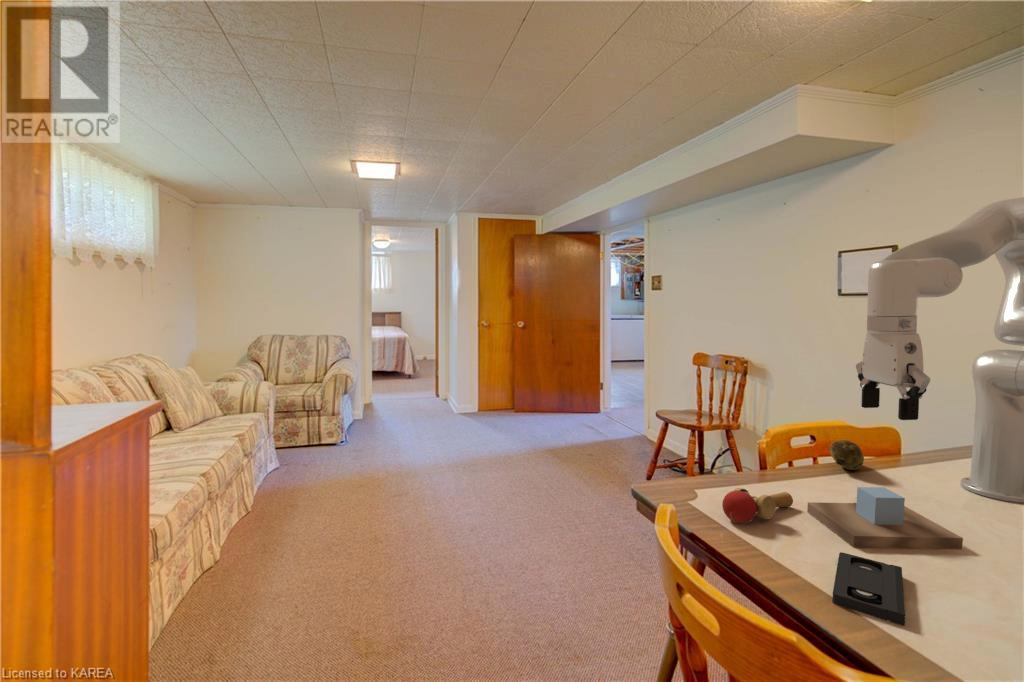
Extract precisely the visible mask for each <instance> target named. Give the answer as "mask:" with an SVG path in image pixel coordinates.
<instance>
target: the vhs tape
mask: <svg viewBox="0 0 1024 682" xmlns="http://www.w3.org/2000/svg"><path fill="white" fill-rule="evenodd" d="M837 558H838V559H837V560H838V561H837V565H836V566H837V567H836V570H835V576H834V577H835V578H834V583H833V589H832V601H831V602H832V604H834V605H836V606H839V607H842V608H845V609H849V610H852V611H855V612H858V613H861V614H864V615H867V616H870V617H873V618H877V619H881V620H884V621H886V622H887V621H889V622H890V623H893V624H895V625H898V626H903V627H905V625H906V608H905V607H906V606H905V605H906V604H905V593H904V580H903V568H902V566H899V565H896V564H895V565H894V564H889V563H888V564H887V563H885V562H881V561H877V560H873V559H871V558H870V559H869V558H865V557H861V556H857V555H853V554H850V553H847V552H841V551H840V552H839V554H838V557H837ZM848 587H851V593H850V594H851V596H850V595H849V594H848ZM879 596H881V600H878V598H879Z"/></svg>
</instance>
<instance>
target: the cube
mask: <svg viewBox="0 0 1024 682" xmlns="http://www.w3.org/2000/svg"><path fill="white" fill-rule="evenodd" d="M905 501H906V498H905V497H904V496H902V495H900V494H898V493H896V492H894V491H892V490H890V489H888V488H886V487H882V486H881V487H878V486H876V487H875V486H857V489H856V502H855V503H856V513H858V514H859V515H861V516H862V517H864V518H865V519H867V520H868V521H870V522H871V523H873V524H876V525H903V518H904V506H905Z"/></svg>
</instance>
